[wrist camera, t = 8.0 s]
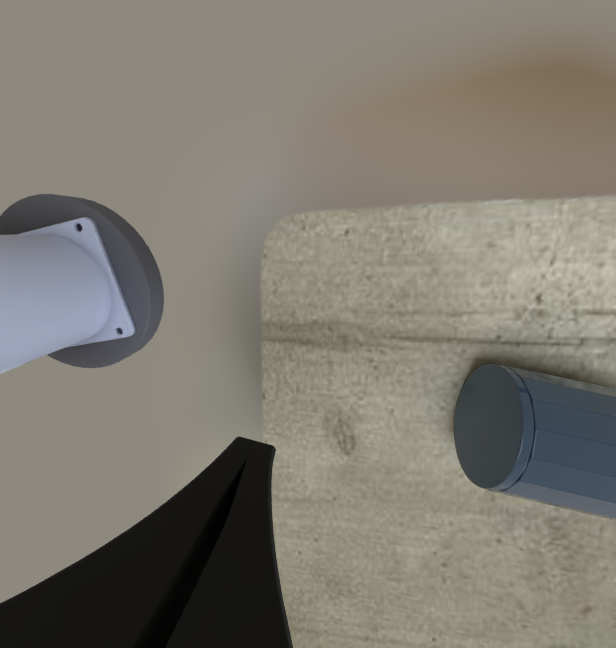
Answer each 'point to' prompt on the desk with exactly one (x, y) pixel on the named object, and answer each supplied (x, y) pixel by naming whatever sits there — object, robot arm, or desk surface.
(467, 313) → the desk surface
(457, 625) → the desk surface
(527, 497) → the tumbler
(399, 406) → the desk surface
